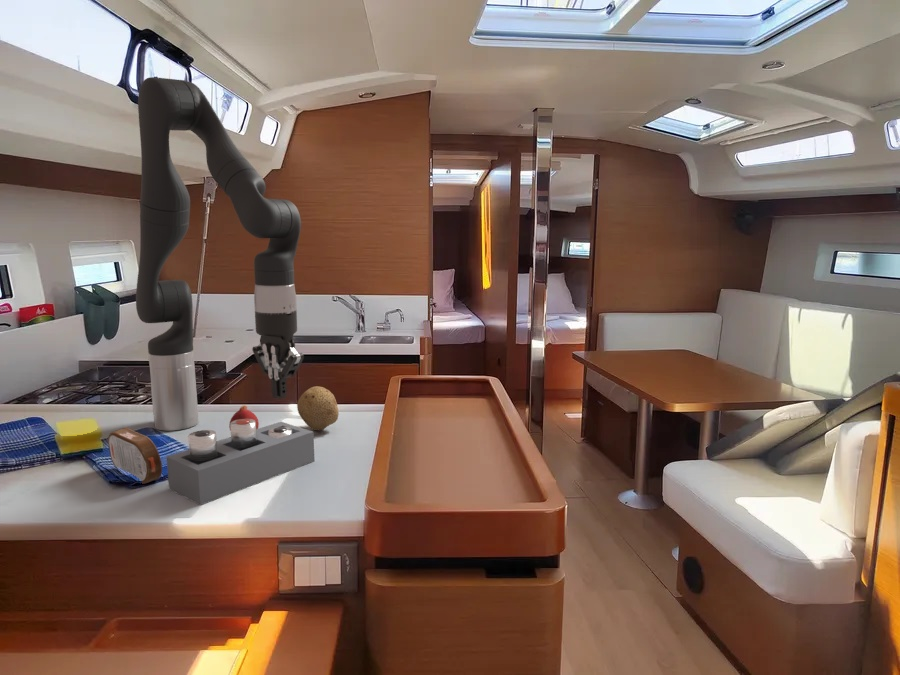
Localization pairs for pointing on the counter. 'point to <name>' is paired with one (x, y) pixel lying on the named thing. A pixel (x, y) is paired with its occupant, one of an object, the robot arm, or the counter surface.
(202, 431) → the knob
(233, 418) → the onion
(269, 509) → the counter surface
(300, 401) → the brown oval lump
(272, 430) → the knob
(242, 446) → the knob mid
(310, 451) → the mount
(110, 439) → the tin
